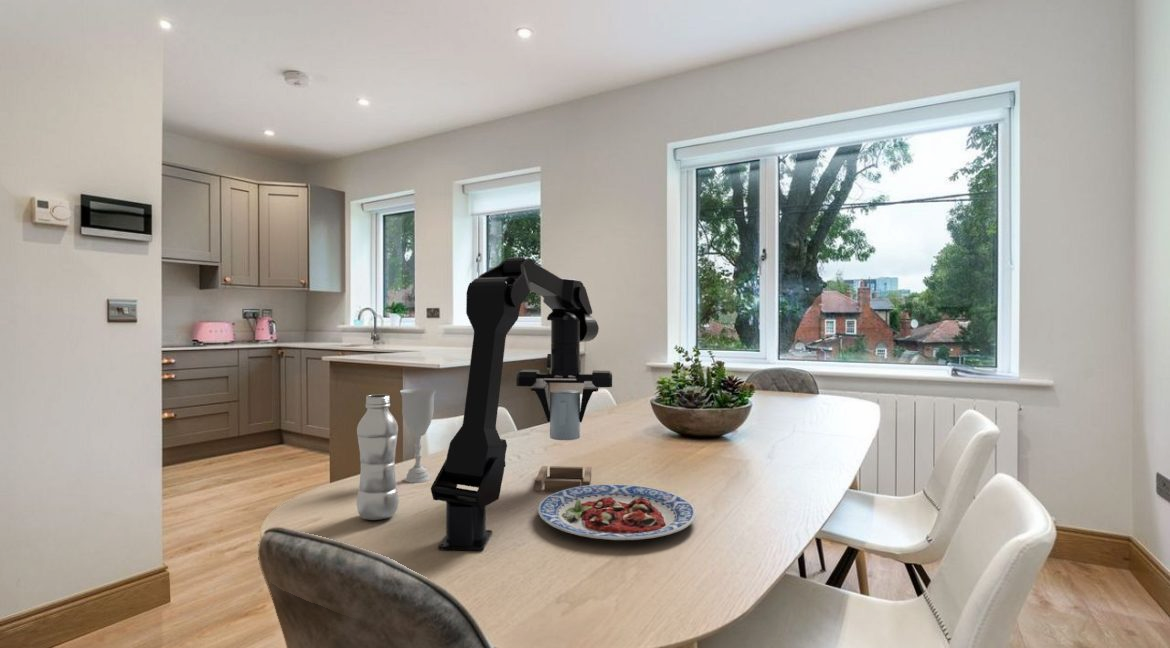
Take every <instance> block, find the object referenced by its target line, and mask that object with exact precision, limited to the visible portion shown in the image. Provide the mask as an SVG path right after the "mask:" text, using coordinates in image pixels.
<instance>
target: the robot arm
mask: <svg viewBox="0 0 1170 648" xmlns="http://www.w3.org/2000/svg"><path fill="white" fill-rule="evenodd" d="M531 292H532V293H535V294H537V295H539V296H541V297H542V298H543V303H544V304H545V305H546V306H547V307H548V308H549V309H551V312H550V313H549V314H548V315H547V317H546V320H547V321H550V328H551V329H550V338H551V339H550V353H547V355H546V356H547V357H546V370H547V371H550V373H541V372H540V369H522V370H520V371H519V372H518V373H517V374H516V387H530V388H529V390H530V391H531V392H535V394H536V396H537V398H538V399H539V402H540V403H541V407H542V409H543V412H544V415H545V418H546V420H547V422H548V423H550V394H549V383H551V384H584V385H583V389H582V394H581V395H582V396H581V400H580V423H582V422H583V420H584V416H585V412H586V409H587V406H588V404H589V402H590V399H591V397H592V395H593V394H594V392H596V393H597V392H599V390H600V389H599V388H613V373H612V372H611V371H610V370H592V373H582V372H581V369H582V368H581V367H582V365H581V364H582V363H581V362H582V361H581V357H580V356H581V354H580V353H581V352H580V351H581V350H580V348H581V346H580V345H581V344H580V343H585V342H590V341H592V340H594V339H595V338H596V337H597V335H598V334H599V329H600V328H599V327H600V326H599V325H598V321H597V320H596V318H594V317H593V316H592V314H593V309H592V306H591V302H590V299H589V296H588V293H587V289H586V287H585V286H584V283H583V282H582V281H581V280H578V279H575V278H563V277H560V276H558V275H557V274H555V273H553V272H551V271H549V270H547V269H546V268H544V267H542V265H539V264H538V263H536V262H535V260H534V259H533V258H531V257H527V256H518V257H516V256H515V257H507V258H506V259H503V260H502V261H501V262H500V263H499V264H498V265H496V266H495V267H493V268H491V269H489V270H487V271H485V272H483V273H481V274H480V275H479V276H478V277H477V278H475V279H473V280H472V281H471V282H469V284H468V286H467V290H466V294H465V295H466V302H465V303H466V304H465V305H466V307H465V314H466V316H467V318H468V320H469V323H470V324H471V327H472V329H473V339H472V345H471V346H472V347H471V354H470V363H469V371H468V378H467V379H468V380H467V386H466V387H467V388H466V393H465V395H466V396H465V403H464V411H463V419H462V425H461V426H460V428H459V429H458V430H457V432H456V434H455V435H454V436H453V438H452V439H451V440H450V442H449V445H448V450H447V454H446V458H445V460H444V462H443V464H442V466H441V468H440V470H439V472H438V474H437V475H436V478H435V479H434V481H433V483H432V485H431V486H430V492H431V496H432V499H433V501H441V502H445V505H446V506H445V508H446V509H445V511H446V513H445V515H446V516H445V518H446V519H445V536H444V537H443V538H442V539H441V541H440V543H439V544H438V547H437V549H438V550H454V551H483V550H484V549H485V547H487V543H489V540H490V538H491V536H492V535H493V530H490V529H487V525H486V524H487V506H488V505H490V504H493V503H494V502H496V501H498V500H499V499H500V493H501V488H502V485H503V484H502V483H503V478H504V472H505V468H506V454H507V453H506V452H507V448H508V443H507V441H506V440H507V439H503V438H501V437H500V435H499V433H498V430H497V420H498V419H497V418H498V411H499V410H498V409H499V399H500V392H501V383H502V375H503V373H502V372H503V366H504V357H505V356H504V355H505V350H506V349H505V347H506V340H507V334H509V332H510V330H511V329H512V328H513V327H514V325H515V324H516V322H517V321H518V319H519V315H520V311H521V306H522V304H523V302H524V301H525V300H526V298H527V297H529V294H530V293H531ZM458 485H459V486H466V487H471V488H472V487H473V488H477V490H472V489H467V488H460V487H458Z"/></svg>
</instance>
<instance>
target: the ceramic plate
mask: <svg viewBox="0 0 1170 648" xmlns="http://www.w3.org/2000/svg"><path fill="white" fill-rule="evenodd" d="M537 512H538V515H539V517H540V519H542V521H544V522H545V523H546V524H548V525H549V526H551V527H553V528H555V529H558V530H559V531H562V532H565V533H568V534H571V535H572V534H573V535H575V536H579V537H585V538H590V539H597V540H598V539H599V540H600V539H601V540H609V541H635V540H636V541H639V540H645V539H654V538H659V537H660V538H661V537H664V536H669V535H672V534H674V533H678V532H680V531H682V530H684V529H686V528H688V527H689V526H690V525H692V524H693V523H694V521H695V520H696V518H697V510H696V508H695V507H694V505H693V504H692V503H691V502H690V501H688V500H687V499H685V498H683V497H682V496H679V495H678V494H675V493H672V492H669V491H666V490H663V489H658V488H654V487H649V486H643V485H642V486H641V485H633V484H624V483H623V484H621V483H620V484H618V483H617V484H615V483H612V484H611V483H610V484H609V483H608V484H606V483H605V484H604V483H603V484H592V485H591V484H590V485H588V486H583V485H580V487H575V488H570V489H566V490H562V491H556V492H554V493H552V494H550V495H548V496H546V497H545V498H544V499H543V500H542V501H540V503H539V505H538V507H537Z"/></svg>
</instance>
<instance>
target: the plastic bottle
mask: <svg viewBox="0 0 1170 648" xmlns="http://www.w3.org/2000/svg"><path fill="white" fill-rule="evenodd" d="M365 399H366V401H365V409H367V410H366V411H365V414H364V415H363V416H362V417H361V419H360V420H359V422H358V424H357V427H356V435H357V442H358V448H359V449H358V450H359V461H360V463H359V464H360V475H359V487H358V489H359V490H358V492H357V497H356V508H357V513H358V515H359V516H360V517H361V518H362V519H363V520H368V521H369V520H370V521H376V520H383V519H384V520H385V519H388V518H390V517H393V516H394V515H395V514H396V512H397V510H398V508H399V500H400V499H399V498H400V496H399V492H398V487H397V479H396V478H397V476H396V461H395V460H396V448H397V441H398V433H399V426H398V425H399V424H398V422H397V420H396V418H395V417H394V416H393V414H392V412H390V410H389V408H390V407H391V403H390V402H391V401H390V400H391V398H390V394H370V395H366V398H365Z"/></svg>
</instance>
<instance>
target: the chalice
mask: <svg viewBox="0 0 1170 648" xmlns="http://www.w3.org/2000/svg"><path fill="white" fill-rule="evenodd" d="M436 392H437V389H433V388H407V389H406V388H405V389H401V390H400V391H399V393H400V395H401V397H402V400H401V401H402V405H401V406H402V411H401V412H402V413H401V414H402V418H403V421H404V425H405V426H406V428H407V430H408V432H409V434H410V436H413V437H414V439H415V443H414V445H413V448H415V449H414V450H415V452H414V454H413V457H414V459H415V460H414V462H415V463H414V464H413V466H411V467H410V468H409V469H408V472H407V473H406V477H405V479H404V481H405V482H407V483H411V484H417V483H424V482H428V481H430V480H431V476H430V474H429V472H428V469H427V467H426V466H423V464H422V463H421V458H422V456H423V454H422V452H421V449H422V447H423V445H422V442H421V440H422V437H423V436H425V435H426V433H427V432H428V430H429V428H430V425H431V423H432V420H433V416H434V414H435V413H434V410H435V407H434V404H435V403H434V402H435V401H434V400H435V394H436Z"/></svg>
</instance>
